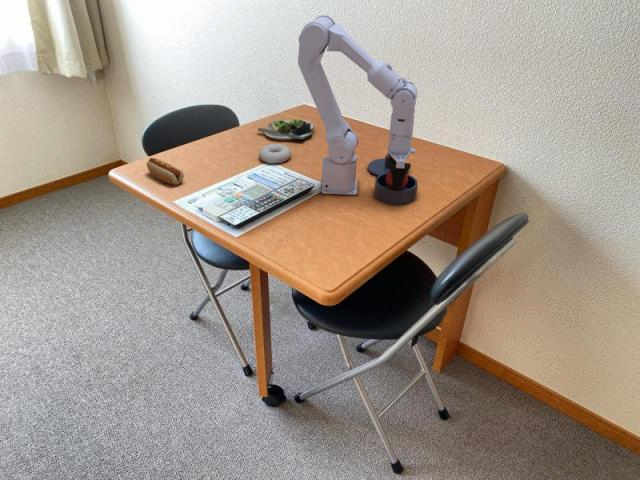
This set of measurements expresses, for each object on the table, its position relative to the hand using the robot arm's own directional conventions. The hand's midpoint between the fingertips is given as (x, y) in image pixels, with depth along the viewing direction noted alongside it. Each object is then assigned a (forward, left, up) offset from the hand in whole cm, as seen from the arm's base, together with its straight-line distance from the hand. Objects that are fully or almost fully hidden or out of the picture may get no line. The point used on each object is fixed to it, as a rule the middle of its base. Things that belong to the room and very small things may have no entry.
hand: (396, 181), depth 128 cm
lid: (-1, +15, -3) cm, 15 cm away
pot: (0, 0, -4) cm, 4 cm away
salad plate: (-35, +42, -4) cm, 54 cm away
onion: (0, 0, -3) cm, 3 cm away
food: (-66, +4, -4) cm, 66 cm away
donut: (-37, +21, -4) cm, 42 cm away
